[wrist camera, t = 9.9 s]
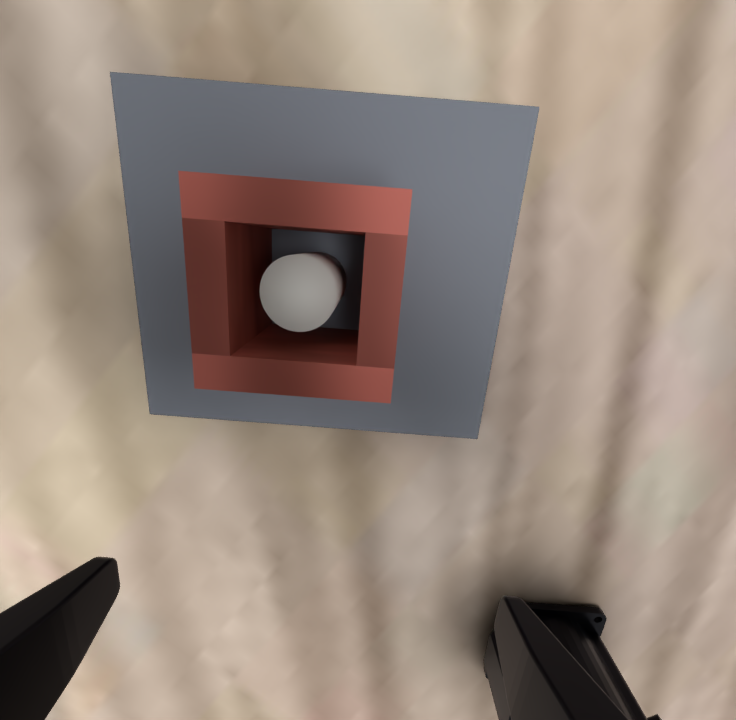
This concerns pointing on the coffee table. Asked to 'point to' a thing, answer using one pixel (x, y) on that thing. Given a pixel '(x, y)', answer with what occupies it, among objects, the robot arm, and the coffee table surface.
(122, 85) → the flat gray board
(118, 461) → the coffee table surface
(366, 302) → the red square tube
